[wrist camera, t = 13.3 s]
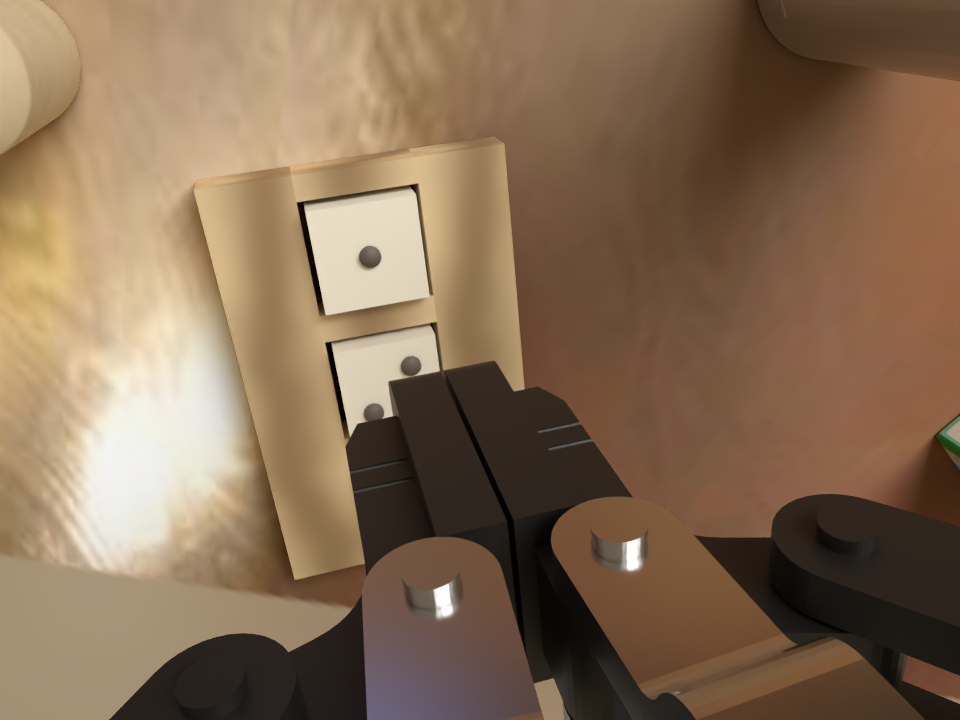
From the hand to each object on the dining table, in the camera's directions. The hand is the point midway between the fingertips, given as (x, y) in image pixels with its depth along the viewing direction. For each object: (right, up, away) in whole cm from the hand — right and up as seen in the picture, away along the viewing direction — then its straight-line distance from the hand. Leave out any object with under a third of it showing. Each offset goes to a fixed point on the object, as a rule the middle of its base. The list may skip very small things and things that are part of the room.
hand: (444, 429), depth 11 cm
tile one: (-5, +7, +28) cm, 29 cm away
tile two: (-4, 0, +31) cm, 31 cm away
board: (-5, +1, +31) cm, 32 cm away
